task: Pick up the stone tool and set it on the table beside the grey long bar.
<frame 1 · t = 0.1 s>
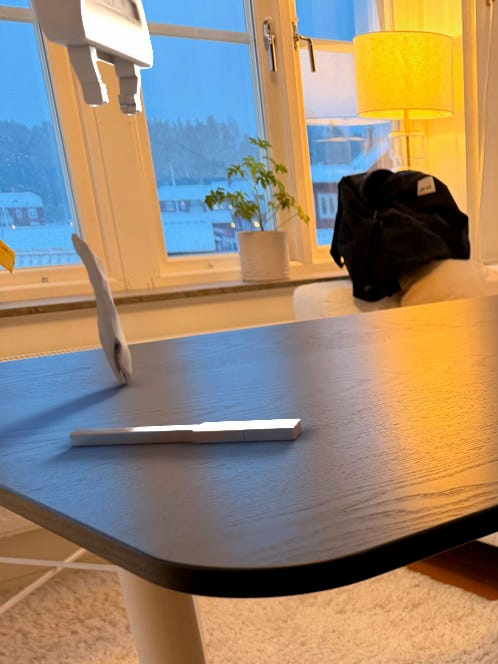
hand: (115, 110, 90), 26 cm above the table, tool pointing down, fingers open, 8 cm apart
stone tool: (120, 386, 96), on the table
grey long bar: (187, 439, 71), on the table
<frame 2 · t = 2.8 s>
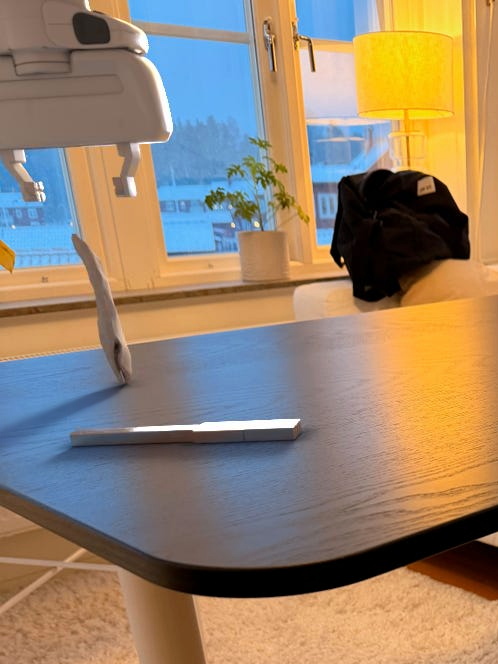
hand: (80, 199, 88), 18 cm above the table, tool pointing down, fingers open, 8 cm apart
nothing on the table moved.
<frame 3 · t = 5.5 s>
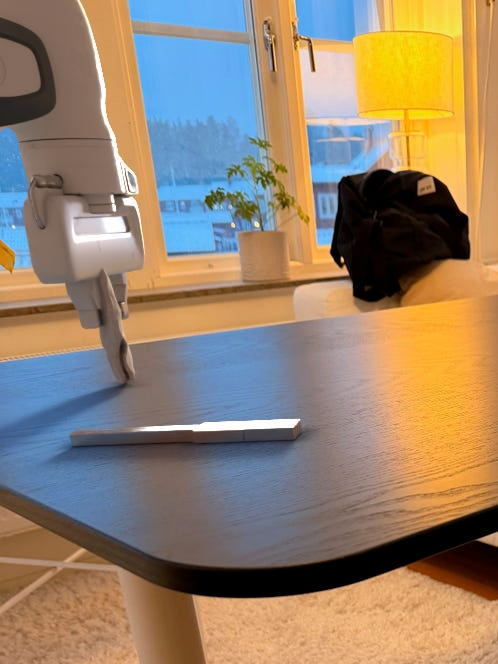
hand: (107, 323, 93), 6 cm above the table, tool pointing down, fingers closed on stone tool, 6 cm apart
stone tool: (121, 386, 96), on the table, touching gripper
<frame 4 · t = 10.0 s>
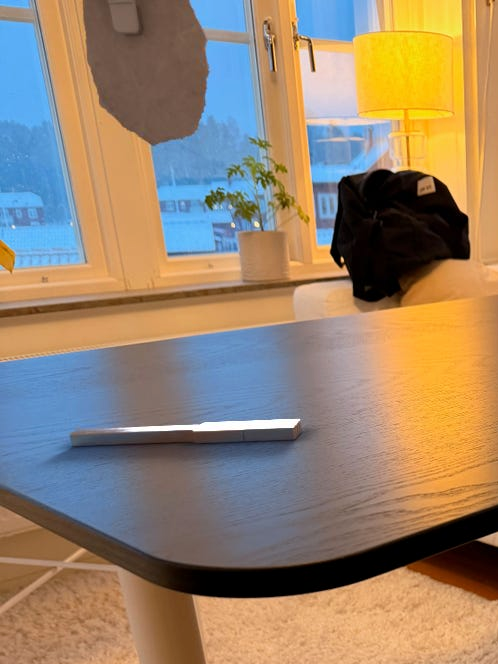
hand: (137, 38, 68), 29 cm above the table, tool pointing down, fingers closed on stone tool, 2 cm apart
stone tool: (163, 147, 71), point 21 cm above the table, touching gripper
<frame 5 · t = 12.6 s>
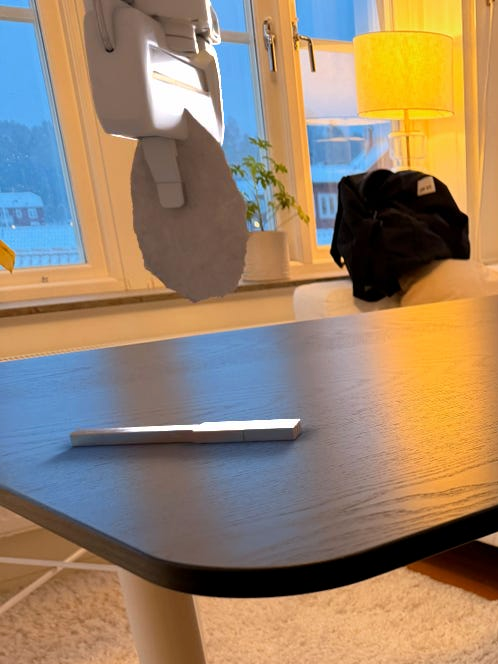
hand: (181, 207, 71), 17 cm above the table, tool pointing down, fingers closed on stone tool, 2 cm apart
stone tool: (205, 305, 74), point 9 cm above the table, touching gripper
when the fingers open (7 cm above the table, at t = 14.8 s): stone tool stays where it is, on the table.
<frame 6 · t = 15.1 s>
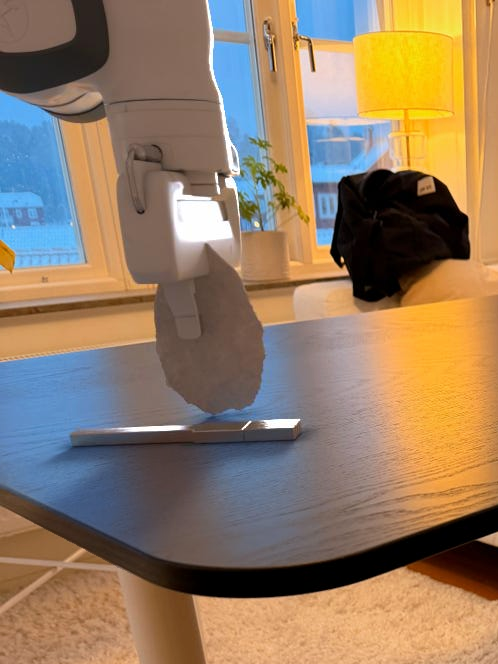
hand: (203, 333, 76), 7 cm above the table, tool pointing down, fingers open, 5 cm apart
stone tool: (223, 418, 79), on the table
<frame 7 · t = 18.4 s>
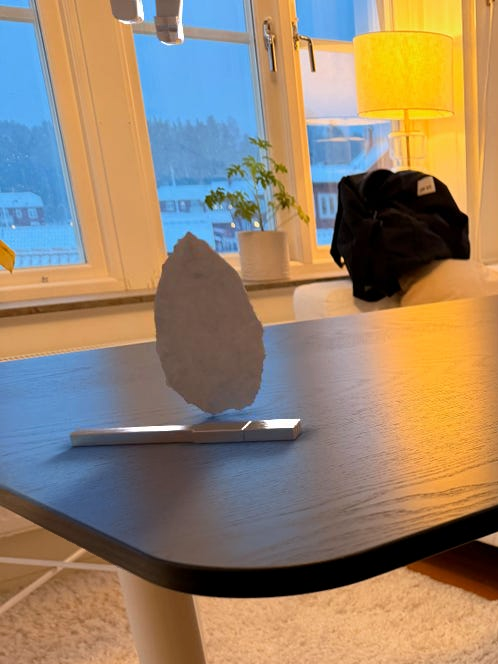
hand: (151, 33, 68), 29 cm above the table, tool pointing down, fingers open, 8 cm apart
nothing on the table moved.
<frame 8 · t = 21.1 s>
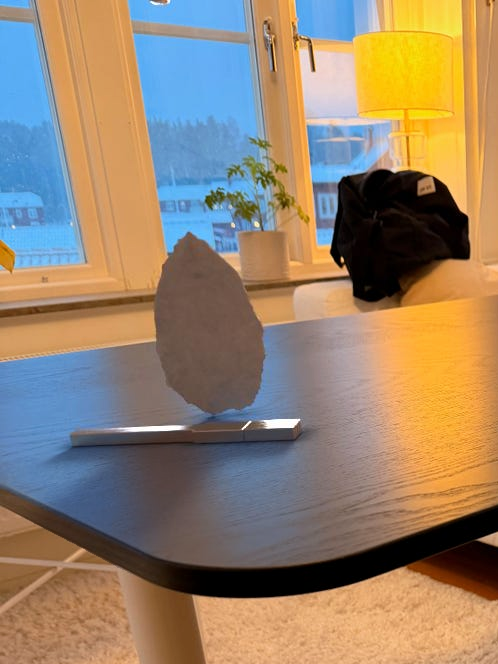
nothing on the table moved.
at the end: stone tool inside the target area on the table beside the grey long bar (1.0 cm from its centre), on the table; stone tool tilted 0°; the gripper is holding nothing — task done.
